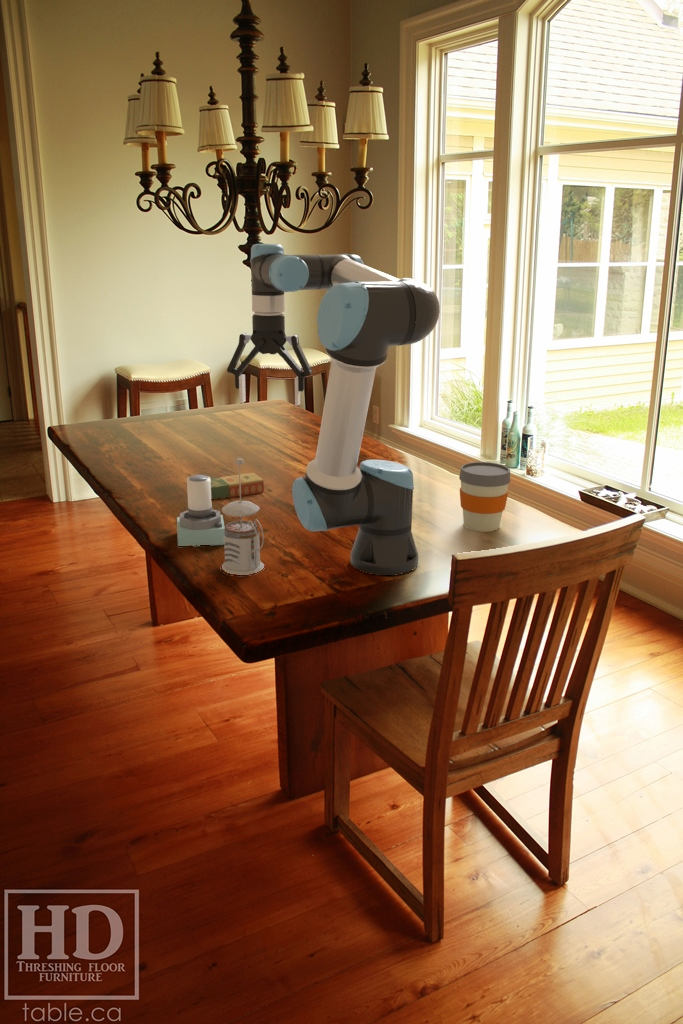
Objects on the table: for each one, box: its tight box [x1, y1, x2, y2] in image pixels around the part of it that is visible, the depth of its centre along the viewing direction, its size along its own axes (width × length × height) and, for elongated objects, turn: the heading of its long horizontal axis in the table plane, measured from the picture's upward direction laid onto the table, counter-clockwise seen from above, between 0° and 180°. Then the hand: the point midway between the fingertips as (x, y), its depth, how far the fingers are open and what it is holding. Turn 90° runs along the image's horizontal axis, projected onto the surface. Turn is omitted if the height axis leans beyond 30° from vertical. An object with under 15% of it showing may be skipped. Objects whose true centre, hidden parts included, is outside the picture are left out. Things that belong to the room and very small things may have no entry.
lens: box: [186, 474, 213, 521], centre depth 199 cm, size 6×6×11 cm
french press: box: [221, 457, 265, 576], centre depth 181 cm, size 10×12×25 cm
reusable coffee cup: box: [459, 461, 511, 533], centre depth 210 cm, size 13×12×15 cm
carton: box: [210, 471, 265, 500], centre depth 236 cm, size 8×16×4 cm, turn 117°
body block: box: [176, 508, 226, 547], centre depth 201 cm, size 10×11×6 cm
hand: (270, 403), depth 203 cm, fingers open, 13 cm apart
